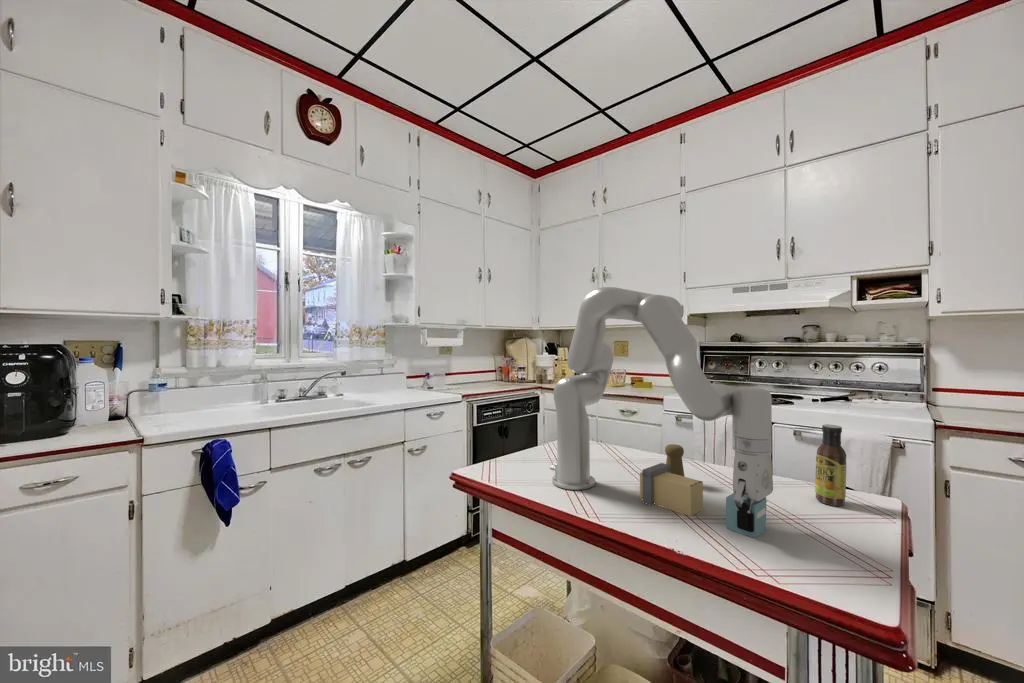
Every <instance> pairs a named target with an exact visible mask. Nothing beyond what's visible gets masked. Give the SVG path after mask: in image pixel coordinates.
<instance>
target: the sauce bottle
mask: <svg viewBox="0 0 1024 683" xmlns="http://www.w3.org/2000/svg"><path fill="white" fill-rule="evenodd" d="M821 427H822V428H821V430H822V443H821V444H820V445H819V447H817V450H816V455H815V457H816V458H815V483H814V484H815V485H814V486H815V488H814V490H815V491H814V492H815V500H817V501H818V502H820V503H822V504H825V505H828V506H832V507H843V506H844V505H845V504H846V495H847V494H846V491H847V488H846V487H847V453H846V451H845V449H844V448H843V447H842V438H841V437H842V432H843V427H842V426H841V425H835V424H826V423H825V424H822V425H821Z"/></svg>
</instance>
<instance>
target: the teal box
mask: <svg viewBox="0 0 1024 683" xmlns="http://www.w3.org/2000/svg"><path fill="white" fill-rule="evenodd" d="M734 496H735V495H734V492H733V493H732V494H729V495H728V496H726V497H725V516H726V517H725V523H726V524H725V525H726V526H725V528H726V529H727V530H731V531H732V532H733V531H734V532H736V533H739V534H741V535H745V536H748V537H750V538H754V539H756V538H757V537H758V536H760V535H761V534H762V533H764V532H765V531H766V530H767V503H766V500H767V497H766V498H763V499H762V500H760V501H758V502H754V501H753V507H752V513H753V514H754V531H753V532H748V531H745V530H742V529H739V528H738V527H737V510H736V503H735V502H734ZM743 497H747V498H749V496H748V495H746V494H744V496H743ZM743 501H744V502H745V503H746V504H747V506H748V501H747V500H743Z"/></svg>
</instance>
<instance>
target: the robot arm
mask: <svg viewBox="0 0 1024 683" xmlns="http://www.w3.org/2000/svg"><path fill="white" fill-rule="evenodd" d="M683 316H684V310H683V307H682V304H681V303H680V301H679V300H678V299H676V298H674V297H672V296H668V295H662V294H652V293H647V292H641V291H637V290H631V289H624V288H621V287H617V286H616V287H614V286H605V287H604V286H603V287H599V288H596V289H594V290H591V291H590V292H589V293H587V294H586V295H585V296H584V298H583V300H582V301H581V303H580V307H579V310H578V315H577V320H576V325H575V328H574V332H573V334H572V338H571V342H570V345H569V349H568V352H567V356H566V357H567V358H566V364H567V367H568V369H570V370H571V372H572V373H576V374H577V375H570V376H569V375H568V376H565V377H562V378H561V379H559V380H558V381H557V383H556V384H555V386H554V388H553V393H552V394H553V395H552V396H553V401H554V405H555V414H556V441H557V442H556V444H557V446H556V450H557V451H556V452H557V454H556V456H557V461H553V462H552V464H551V465H550V466H549V470H551V471H554V475H553V476H552V479H551V481H552V483H553V485H555V486H556V487H558V488H560V489H563V490H564V489H565V490H576V491H578V490H580V491H581V490H587V489H591V488H593V487H594V486H595V484H596V478H595V477H594V476H593V475H591V469H590V468H591V465H590V463H591V461H590V460H591V457H590V456H591V454H590V452H591V451H590V446H591V445H590V438H591V437H590V420H589V415H588V412H587V410H586V407H587V406H591V405H594V404H597V403H598V402H599V401H600V400H601V399H602V398H603V396H604V393H605V391H606V387H607V384H608V381H609V378H610V374H611V371H612V367H613V363H614V355H613V354H614V353H613V351H612V348H611V347H610V346H609V344H608V343H607V342H604V341H603V340H604V337H605V336H606V330H607V329H606V326H607V325H606V320H608V319H609V320H610V319H611V320H612V319H615V320H627V321H631V322H632V321H633V322H637V323H641V325H643V327H644V329H645V331H646V332H647V333H648V335H649V336H650V338H651V339H652V341H653V342H654V344H655V346H656V348H657V349H658V351H659V352H660V353H661V355H662V357H663V358H664V360H665V366H666V369H667V371H668V376H669V379H670V382H671V385H672V386H673V388H674V390H675V391H676V393H677V394H678V396H679V398H680V399H681V401H682V402H683V404H684V405H685V407H686V409H688V411H689V412H690V414H692V415H693V416H694V417H695V418H697V419H699V420H701V421H706V422H710V421H711V422H712V421H715V420H718V419H720V418H722V417H728V416H732V418H731V420H732V422H731V423H732V424H731V425H732V428H731V429H732V431H731V432H732V440H731V441H732V444H731V445H732V450H733V451H734V458H733V471H732V472H733V473H732V491H733V493H734V495H735V496H734V502H735V503H736V510H737V527H738V528H739V529H742V530H745V531H748V532H753V531H754V514H753V513H752V507H753V501H754V502H758V501H760V500H762V499H763V498H766V504H767V501H768V500H767V497H768V496H769V495H771V494H772V493H773V491H774V482H773V481H774V478H773V463H772V456H771V455H772V452H773V451H772V450H773V449H772V448H773V446H772V439H773V438H772V434H773V433H772V431H773V430H772V424H773V423H772V422H773V421H772V417H773V416H772V413H773V412H772V411H773V410H772V408H773V407H772V403H773V402H772V401H773V400H772V394H771V392H770V391H769V390H768V389H765V388H760V387H747V386H746V387H738V386H737V387H736V386H732V385H727V384H721V383H713V384H711V382H710V380H709V379H708V378H707V376H706V375H705V373H704V371H703V369H702V368H701V366H700V363H699V360H698V354H697V352H698V342H697V339H696V337H695V336H694V335H693V333H692V332H691V331H690V329H689V328H688V326H687V325H686V324H685V322H684V320H683ZM744 494H746V495H748V496H749V498H747V497H743V496H744ZM743 500H747V501H748V506H747V504H746V503H745V502H744V501H743Z"/></svg>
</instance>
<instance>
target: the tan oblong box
mask: <svg viewBox="0 0 1024 683" xmlns="http://www.w3.org/2000/svg"><path fill="white" fill-rule="evenodd" d="M684 476H685V475H684ZM684 476H680V475H676V474H672V473H670V465H668V464H666V463H663V462H660V463H658V464H654V465H652V466H649V467H646V468H644V469H642V472H639V499H640V500H641V499H643V500H642V503H643V502H644V503H643V504H645V503H647V504H646V505H648V504H650V505H649V506H653V505H656V504H657V505H656V506H659V505H660V506H659V507H662V506H663V507H662V508H665V507H666V508H665V509H668V508H669V509H668V510H671V511H674V512H677V513H680V514H684V515H686V516H687V517H688V516H689V517H693V516H694V515H696V514H698V513H699V511H700V512H701V511H704V481H702V480H699V479H694V478H691V477H686V476H685V477H684ZM654 503H655V504H654ZM652 504H653V505H652Z"/></svg>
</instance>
